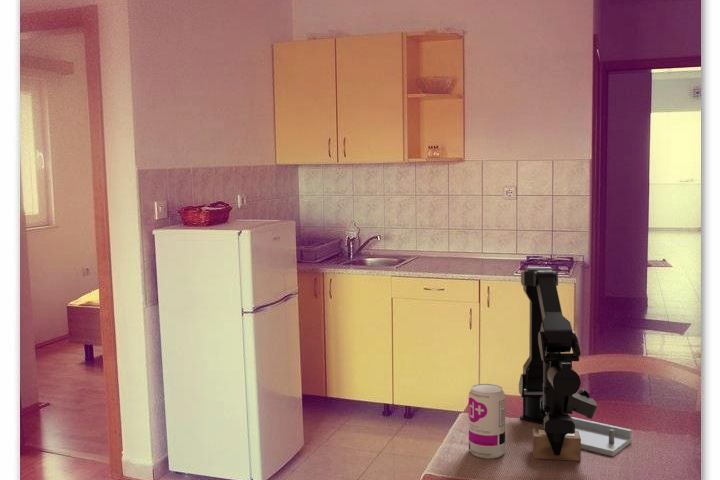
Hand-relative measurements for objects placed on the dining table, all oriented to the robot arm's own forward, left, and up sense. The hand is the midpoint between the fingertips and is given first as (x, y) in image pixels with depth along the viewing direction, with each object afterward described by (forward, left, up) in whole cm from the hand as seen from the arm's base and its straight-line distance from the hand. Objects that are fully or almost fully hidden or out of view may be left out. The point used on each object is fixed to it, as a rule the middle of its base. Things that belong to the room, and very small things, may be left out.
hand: (556, 450), depth 158 cm
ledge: (+1, +12, -1) cm, 13 cm away
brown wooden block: (0, 0, -1) cm, 1 cm away
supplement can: (-13, -8, -1) cm, 15 cm away
